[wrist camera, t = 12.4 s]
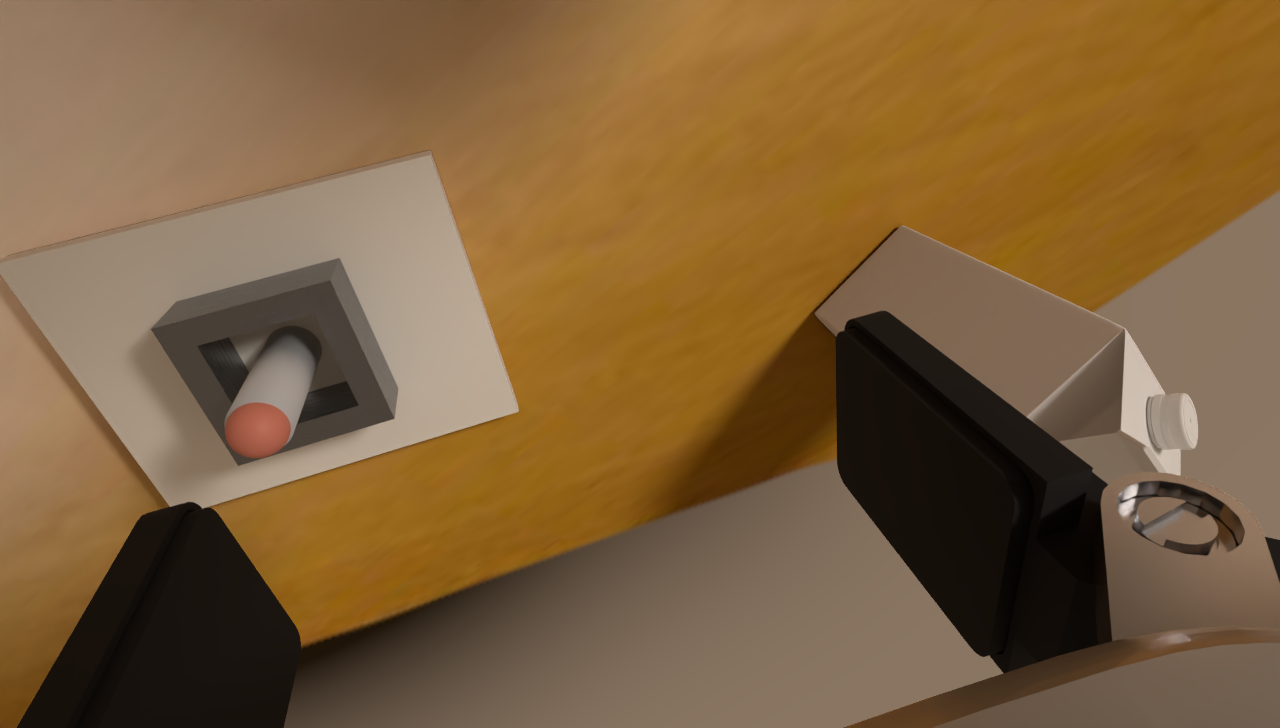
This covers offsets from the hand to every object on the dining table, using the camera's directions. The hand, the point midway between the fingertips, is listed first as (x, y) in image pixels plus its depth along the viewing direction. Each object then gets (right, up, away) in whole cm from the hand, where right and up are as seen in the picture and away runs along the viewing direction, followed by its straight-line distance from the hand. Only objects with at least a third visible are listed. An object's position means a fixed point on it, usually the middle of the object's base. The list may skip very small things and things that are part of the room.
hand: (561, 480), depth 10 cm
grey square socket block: (-15, +2, +22) cm, 27 cm away
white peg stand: (-16, +3, +23) cm, 28 cm away
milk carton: (+16, +6, +31) cm, 35 cm away
